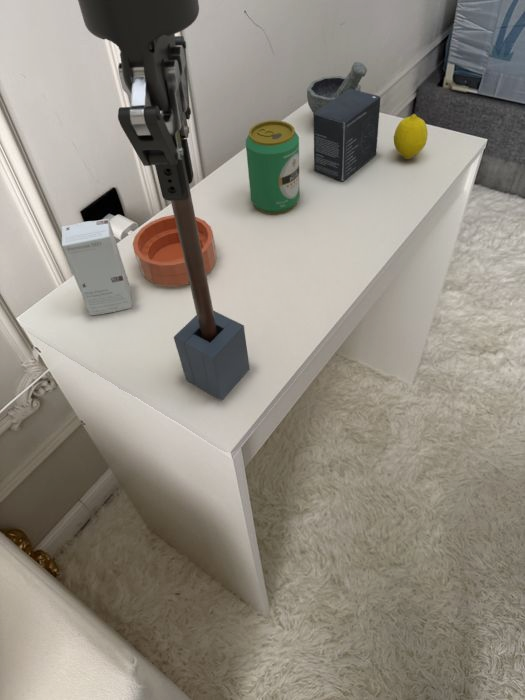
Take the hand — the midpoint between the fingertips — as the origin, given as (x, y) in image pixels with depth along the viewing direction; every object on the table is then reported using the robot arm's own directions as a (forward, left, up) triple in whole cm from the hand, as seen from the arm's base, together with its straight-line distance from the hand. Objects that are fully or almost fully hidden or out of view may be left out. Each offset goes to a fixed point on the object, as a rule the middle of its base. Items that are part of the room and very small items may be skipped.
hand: (179, 189), depth 44 cm
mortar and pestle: (+17, +61, -26) cm, 68 cm away
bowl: (-8, +21, -26) cm, 34 cm away
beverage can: (+6, +36, -26) cm, 45 cm away
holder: (0, 0, -26) cm, 26 cm away
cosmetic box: (-16, +13, -26) cm, 33 cm away
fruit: (+29, +48, -26) cm, 62 cm away
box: (+18, +47, -26) cm, 57 cm away
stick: (0, 0, -21) cm, 21 cm away
